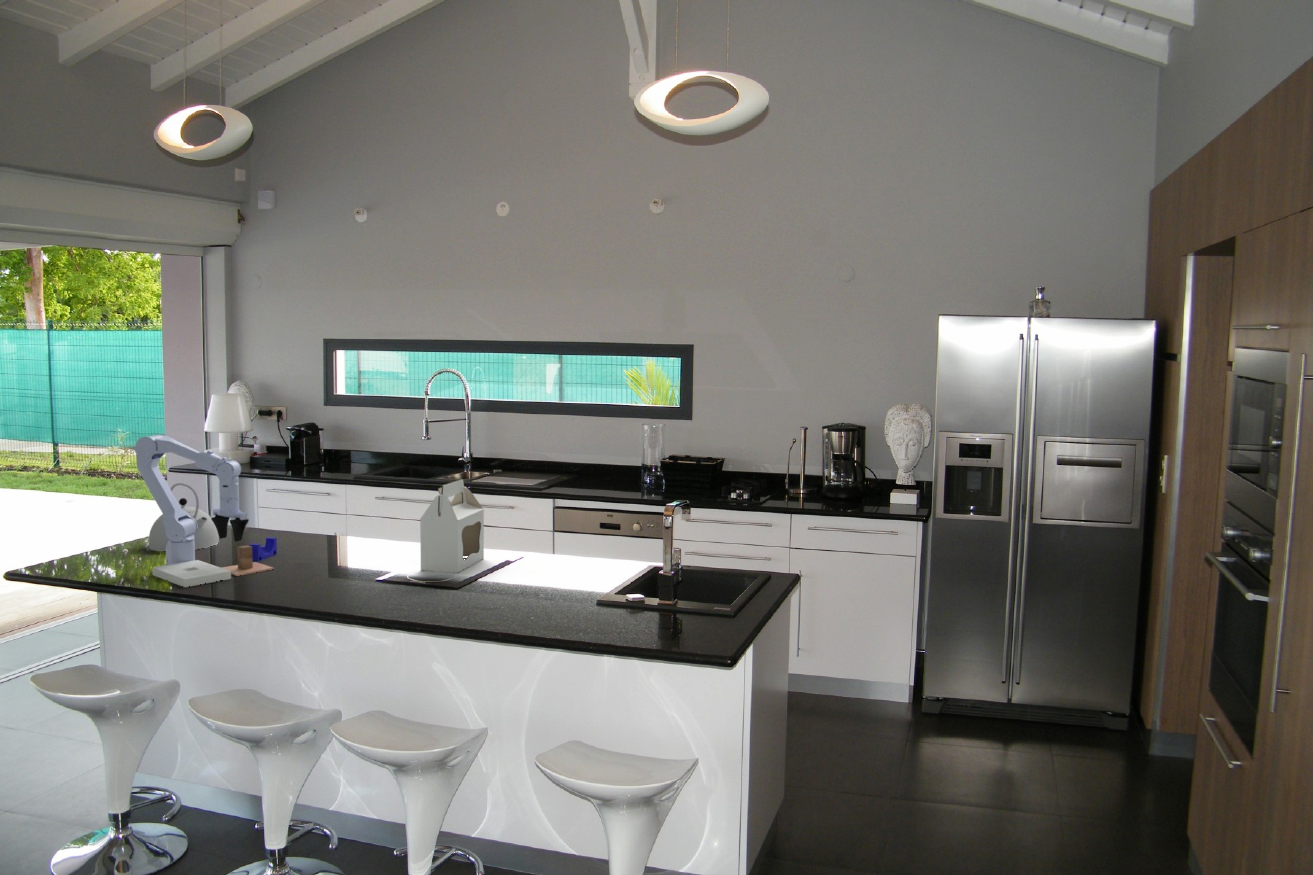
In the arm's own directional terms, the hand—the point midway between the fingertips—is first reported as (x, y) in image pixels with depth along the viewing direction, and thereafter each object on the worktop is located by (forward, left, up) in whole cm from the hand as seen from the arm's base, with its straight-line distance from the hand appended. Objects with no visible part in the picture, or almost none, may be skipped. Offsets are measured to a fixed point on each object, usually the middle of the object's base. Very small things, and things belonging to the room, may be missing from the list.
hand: (230, 539), depth 301 cm
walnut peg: (+6, +2, -9) cm, 11 cm away
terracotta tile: (+6, +2, -9) cm, 11 cm away
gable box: (+48, +52, -10) cm, 71 cm away
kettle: (-44, +6, -10) cm, 46 cm away
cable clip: (-7, +14, -10) cm, 18 cm away
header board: (+3, -14, -9) cm, 17 cm away
